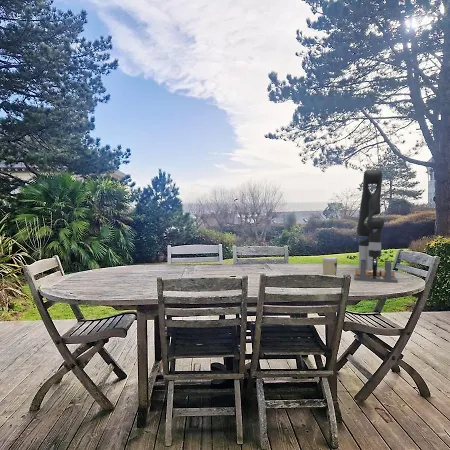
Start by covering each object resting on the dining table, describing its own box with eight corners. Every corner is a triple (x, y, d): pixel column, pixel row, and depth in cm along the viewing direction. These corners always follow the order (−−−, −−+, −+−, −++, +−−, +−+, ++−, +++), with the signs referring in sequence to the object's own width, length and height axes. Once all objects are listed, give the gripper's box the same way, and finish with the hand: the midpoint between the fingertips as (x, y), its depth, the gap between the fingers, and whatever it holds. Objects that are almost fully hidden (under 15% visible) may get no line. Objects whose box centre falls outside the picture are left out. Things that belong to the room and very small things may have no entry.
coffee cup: (338, 278, 237) (338, 258, 236) (322, 277, 238) (323, 258, 238) (336, 275, 246) (336, 257, 246) (321, 275, 248) (321, 256, 247)
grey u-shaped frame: (354, 277, 239) (354, 259, 239) (396, 279, 231) (396, 261, 231) (354, 280, 230) (354, 261, 229) (397, 282, 222) (397, 263, 221)
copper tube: (355, 276, 244) (355, 269, 244) (355, 275, 248) (355, 268, 248) (394, 278, 237) (394, 271, 237) (393, 277, 241) (393, 270, 240)
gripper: (368, 248, 250) (368, 274, 250) (368, 250, 237) (368, 277, 237) (380, 248, 247) (380, 274, 248) (381, 250, 234) (381, 278, 235)
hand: (374, 275), depth 242 cm, fingers closed on copper tube, 4 cm apart
